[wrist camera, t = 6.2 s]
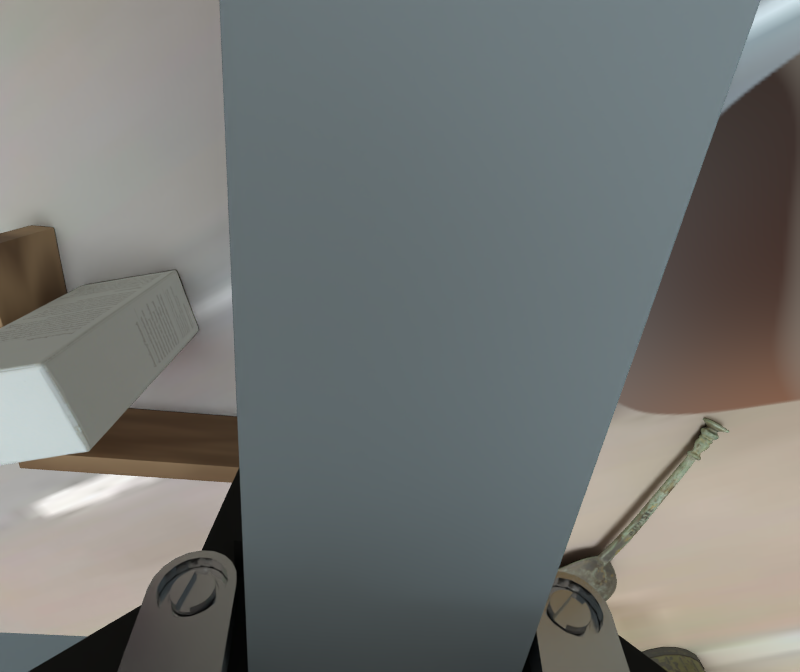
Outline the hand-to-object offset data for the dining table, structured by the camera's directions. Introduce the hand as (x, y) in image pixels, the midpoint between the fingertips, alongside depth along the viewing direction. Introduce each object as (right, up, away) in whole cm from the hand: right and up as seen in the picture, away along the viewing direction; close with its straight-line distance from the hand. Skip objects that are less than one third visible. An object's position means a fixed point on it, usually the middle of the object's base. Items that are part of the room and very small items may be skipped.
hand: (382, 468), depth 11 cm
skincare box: (-15, +5, +17) cm, 23 cm away
